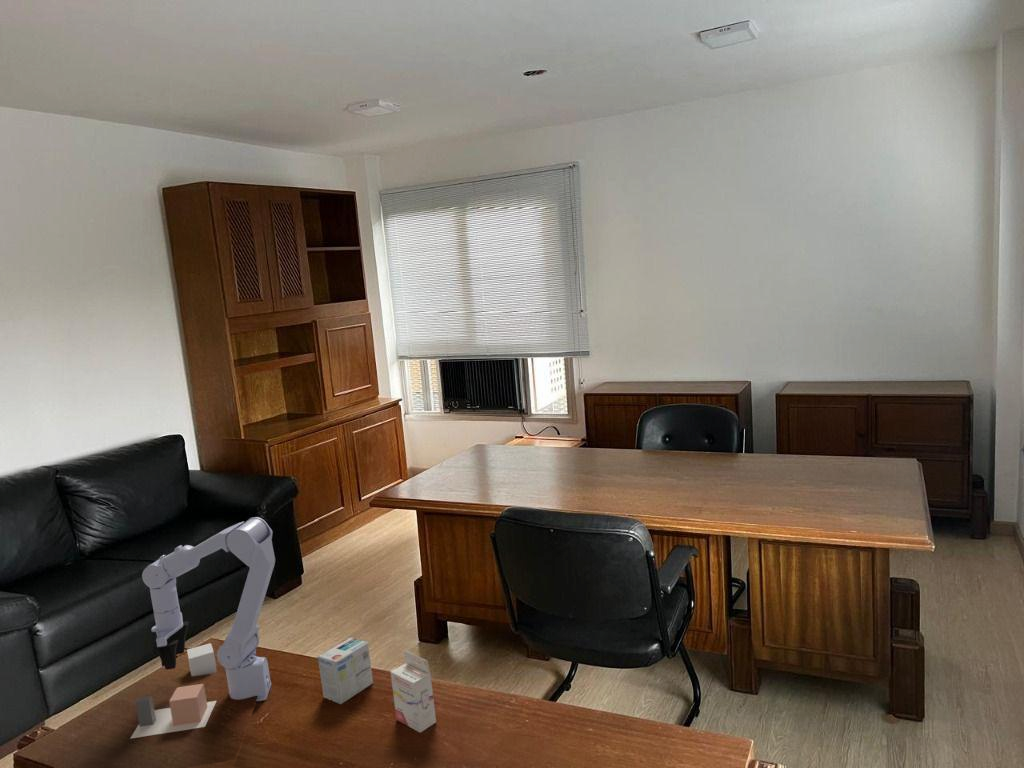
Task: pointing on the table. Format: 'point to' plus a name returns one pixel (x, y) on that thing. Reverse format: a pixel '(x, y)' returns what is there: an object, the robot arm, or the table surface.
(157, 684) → the table surface
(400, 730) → the table surface
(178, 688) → the block
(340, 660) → the light bulb box
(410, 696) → the ink cartridge box
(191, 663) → the white block
